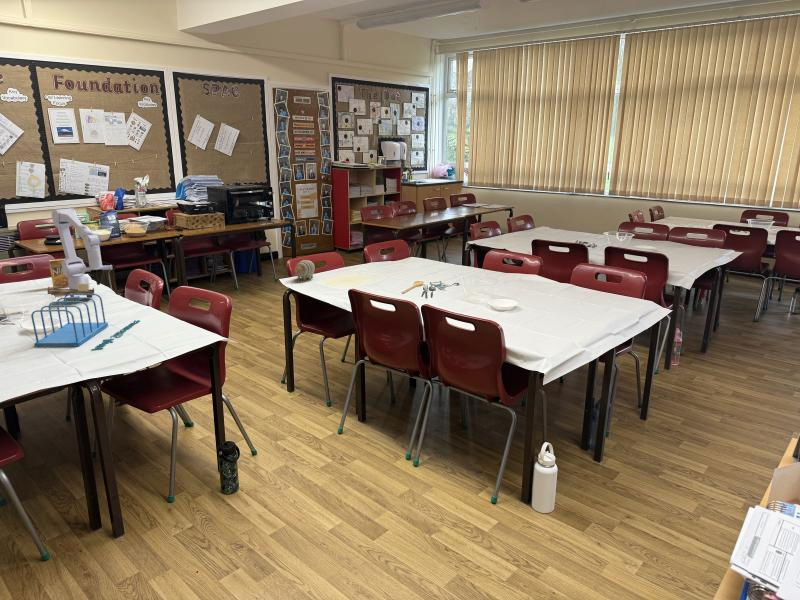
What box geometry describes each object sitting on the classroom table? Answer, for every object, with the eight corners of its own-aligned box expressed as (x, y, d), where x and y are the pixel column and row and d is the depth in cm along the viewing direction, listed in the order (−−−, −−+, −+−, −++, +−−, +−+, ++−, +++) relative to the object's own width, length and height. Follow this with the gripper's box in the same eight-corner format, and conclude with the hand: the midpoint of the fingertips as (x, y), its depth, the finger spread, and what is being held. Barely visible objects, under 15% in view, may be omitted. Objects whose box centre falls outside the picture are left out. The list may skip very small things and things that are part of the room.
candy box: (53, 288, 306) (48, 261, 302) (53, 286, 310) (49, 259, 305) (72, 286, 310) (67, 259, 306) (72, 285, 314) (67, 258, 309)
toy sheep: (290, 281, 325) (289, 262, 322) (305, 274, 340) (304, 256, 337) (306, 282, 322) (306, 263, 319) (320, 276, 337) (320, 258, 334)
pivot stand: (65, 304, 277) (64, 294, 276) (66, 299, 286) (64, 288, 285) (79, 303, 280) (78, 292, 278) (79, 297, 289) (78, 287, 288)
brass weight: (78, 292, 282) (78, 285, 281) (78, 290, 285) (78, 283, 284) (88, 292, 284) (88, 285, 283) (88, 290, 287) (88, 284, 286)
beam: (47, 297, 275) (47, 289, 274) (48, 294, 280) (48, 286, 279) (94, 298, 285) (94, 290, 284) (93, 295, 290) (93, 287, 289)
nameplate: (88, 351, 218) (101, 351, 218) (88, 349, 218) (101, 349, 218) (132, 321, 254) (143, 321, 254) (132, 320, 253) (143, 320, 253)
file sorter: (68, 326, 246) (63, 293, 241) (108, 326, 246) (103, 293, 242) (34, 347, 222) (27, 310, 217) (79, 347, 222) (73, 310, 218)
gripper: (78, 261, 276) (82, 287, 280) (111, 258, 283) (114, 284, 287) (78, 258, 282) (82, 284, 286) (110, 255, 289) (114, 281, 293)
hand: (98, 284), depth 287 cm, fingers closed
